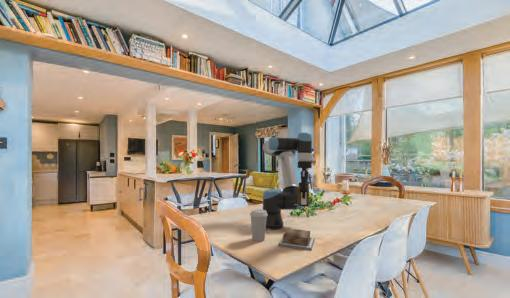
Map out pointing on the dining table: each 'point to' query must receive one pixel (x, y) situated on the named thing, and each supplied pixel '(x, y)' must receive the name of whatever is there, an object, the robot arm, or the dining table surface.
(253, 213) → the coffee cup
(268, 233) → the dining table surface
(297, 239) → the pedestal
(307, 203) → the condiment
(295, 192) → the robot arm
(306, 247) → the plan board
